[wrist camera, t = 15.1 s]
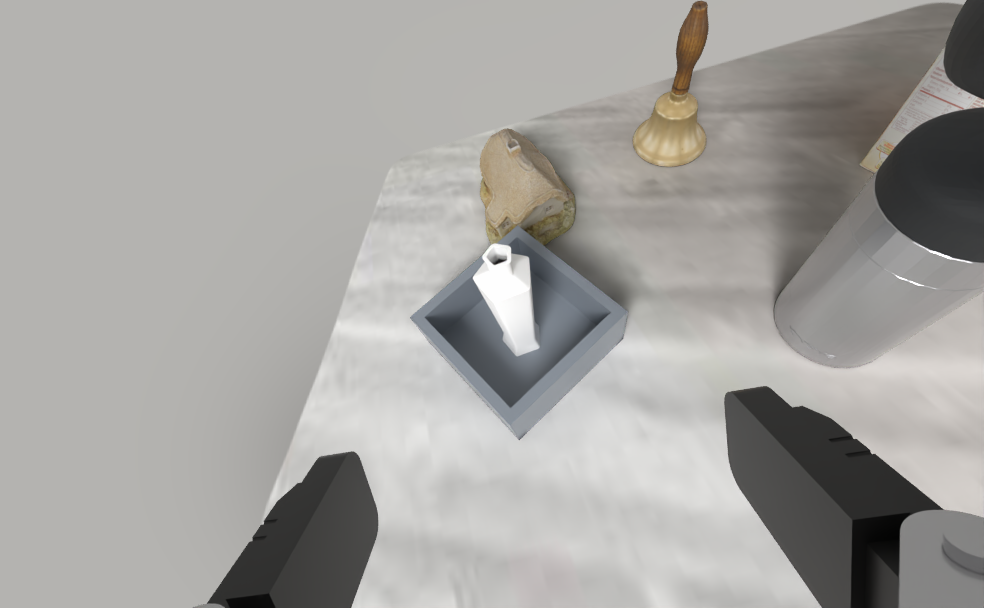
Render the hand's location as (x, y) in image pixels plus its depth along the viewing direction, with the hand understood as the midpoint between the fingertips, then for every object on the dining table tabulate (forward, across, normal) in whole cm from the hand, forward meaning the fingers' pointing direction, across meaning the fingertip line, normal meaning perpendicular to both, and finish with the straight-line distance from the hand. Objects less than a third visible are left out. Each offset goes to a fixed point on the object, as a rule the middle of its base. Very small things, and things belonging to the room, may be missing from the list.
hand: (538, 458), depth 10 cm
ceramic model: (+47, -1, -1) cm, 47 cm away
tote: (+35, +2, +11) cm, 37 cm away
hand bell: (+51, -19, -4) cm, 55 cm away
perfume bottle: (+34, +2, +11) cm, 36 cm away
